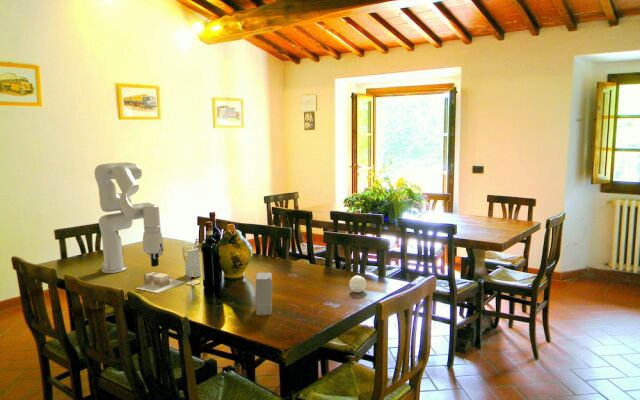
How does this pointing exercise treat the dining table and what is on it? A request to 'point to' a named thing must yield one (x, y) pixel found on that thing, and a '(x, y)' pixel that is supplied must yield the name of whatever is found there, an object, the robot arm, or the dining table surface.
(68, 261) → the dining table surface
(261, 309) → the skincare box
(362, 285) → the geometric ball
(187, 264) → the skincare box
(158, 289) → the mat
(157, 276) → the birch block
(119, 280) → the dining table surface
